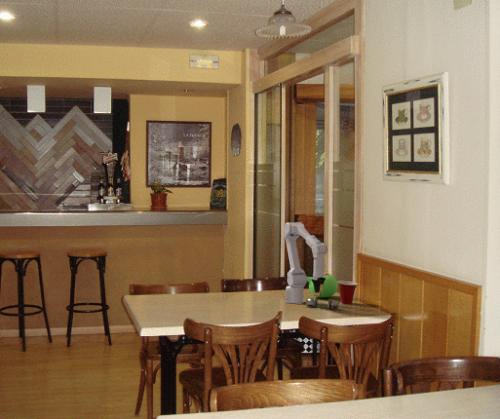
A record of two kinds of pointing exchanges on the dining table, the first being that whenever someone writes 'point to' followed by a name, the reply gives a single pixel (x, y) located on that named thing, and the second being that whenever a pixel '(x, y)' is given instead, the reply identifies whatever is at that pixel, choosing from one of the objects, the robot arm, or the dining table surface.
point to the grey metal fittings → (331, 304)
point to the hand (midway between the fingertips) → (318, 291)
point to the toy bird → (325, 286)
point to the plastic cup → (347, 291)
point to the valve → (319, 291)
